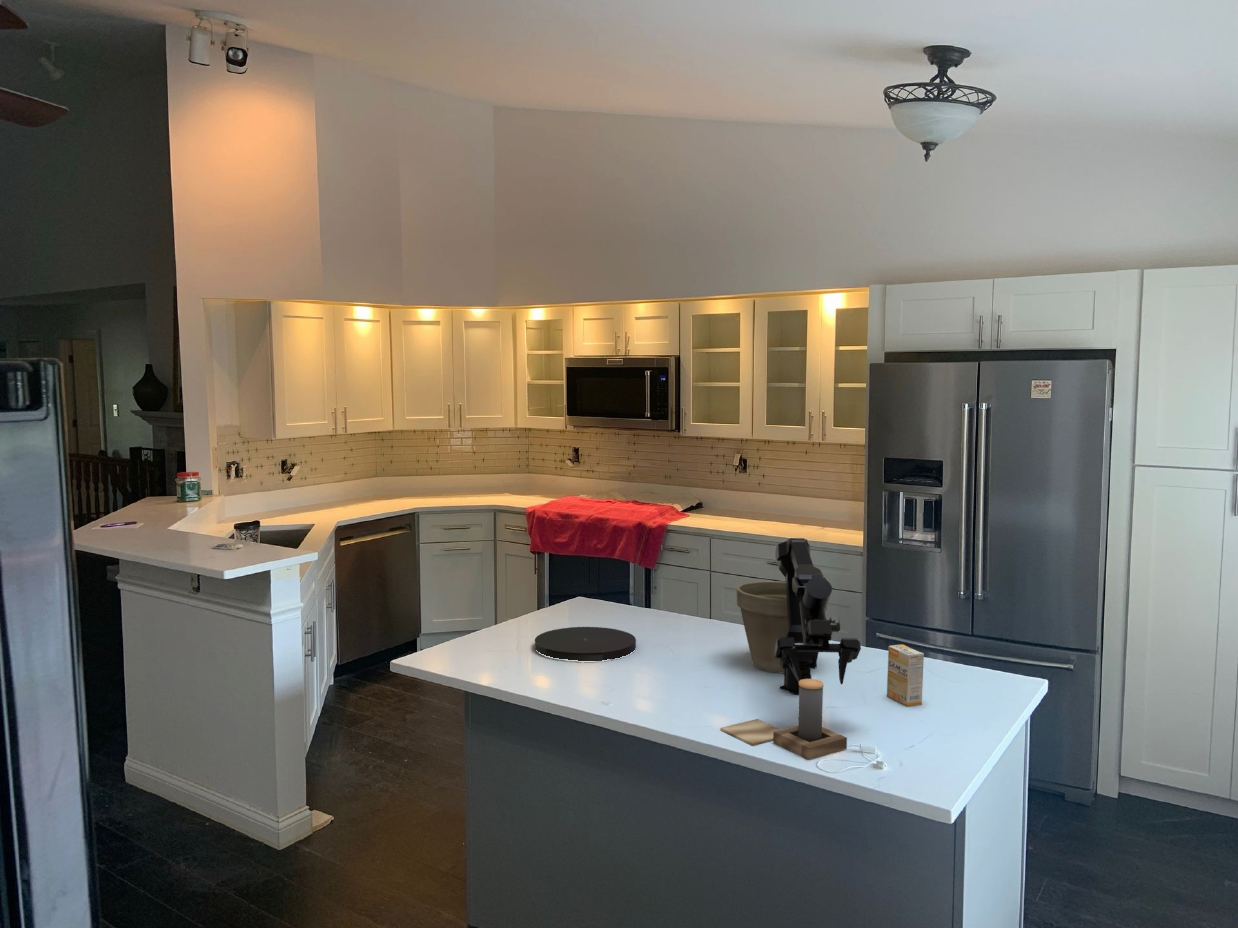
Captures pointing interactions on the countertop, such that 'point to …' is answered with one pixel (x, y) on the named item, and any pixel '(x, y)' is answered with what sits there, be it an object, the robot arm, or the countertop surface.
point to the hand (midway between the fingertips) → (821, 683)
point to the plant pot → (764, 620)
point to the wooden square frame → (810, 749)
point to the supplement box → (905, 675)
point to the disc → (585, 643)
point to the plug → (810, 709)
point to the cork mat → (751, 731)
